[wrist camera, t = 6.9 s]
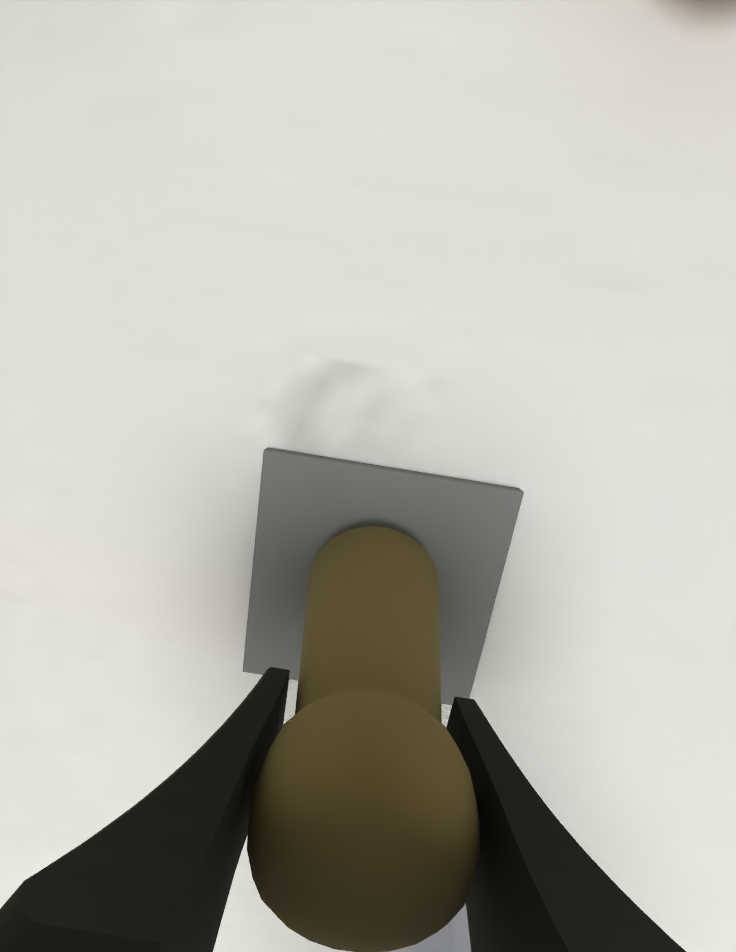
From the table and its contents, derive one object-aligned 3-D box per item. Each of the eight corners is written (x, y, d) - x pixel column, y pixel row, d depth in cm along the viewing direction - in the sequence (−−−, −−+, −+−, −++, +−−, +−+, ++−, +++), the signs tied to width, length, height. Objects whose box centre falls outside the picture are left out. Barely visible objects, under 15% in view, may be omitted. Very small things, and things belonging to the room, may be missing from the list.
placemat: (464, 698, 21) (466, 707, 20) (246, 663, 21) (242, 671, 20) (519, 488, 18) (523, 492, 18) (267, 447, 18) (263, 449, 18)
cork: (284, 598, 18) (148, 927, 8) (355, 500, 17) (307, 742, 6) (388, 661, 19) (396, 1035, 8) (466, 572, 17) (593, 897, 7)
